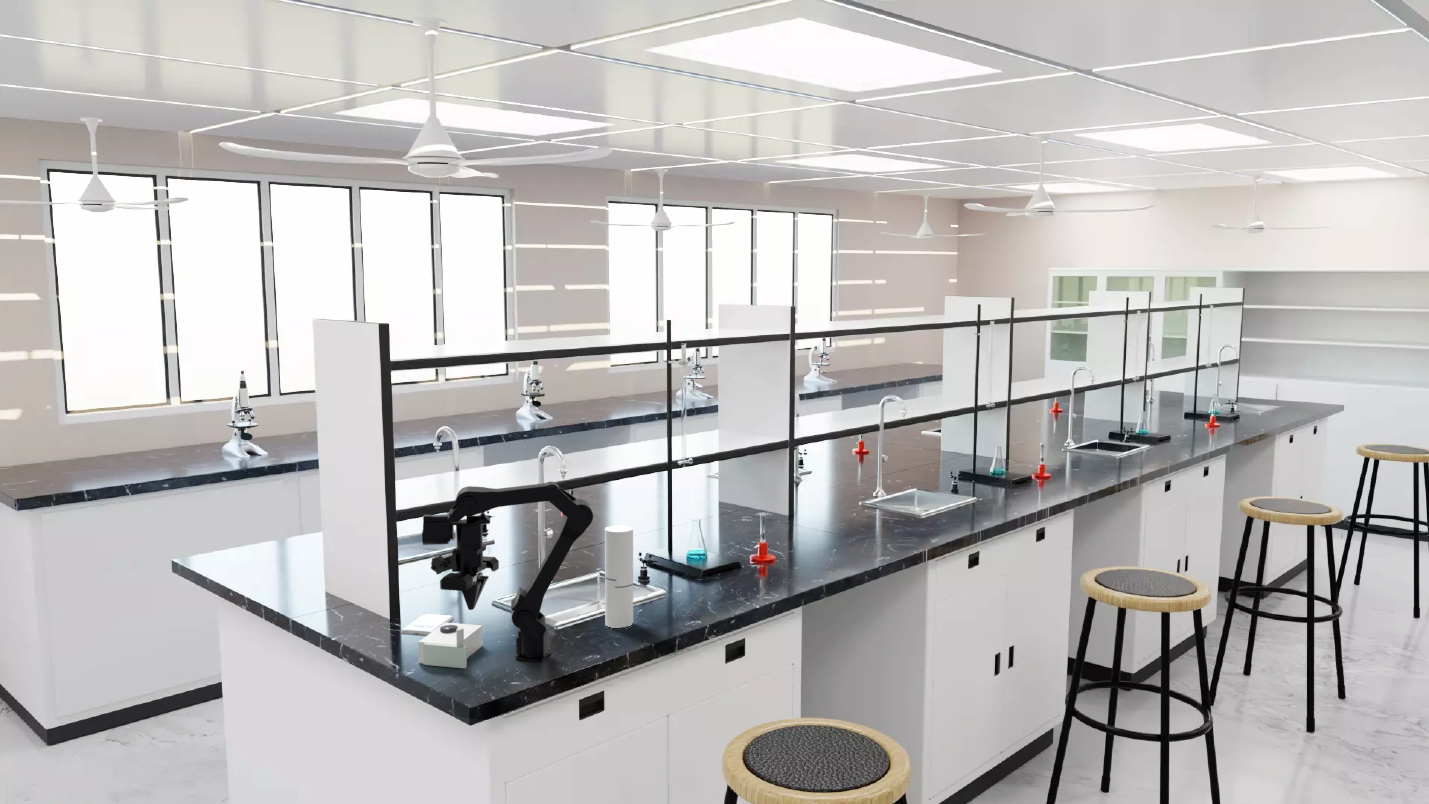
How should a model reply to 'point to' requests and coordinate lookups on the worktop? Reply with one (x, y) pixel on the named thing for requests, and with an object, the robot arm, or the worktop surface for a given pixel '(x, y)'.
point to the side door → (446, 653)
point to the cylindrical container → (618, 576)
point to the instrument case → (453, 638)
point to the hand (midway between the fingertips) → (471, 609)
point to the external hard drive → (426, 624)
